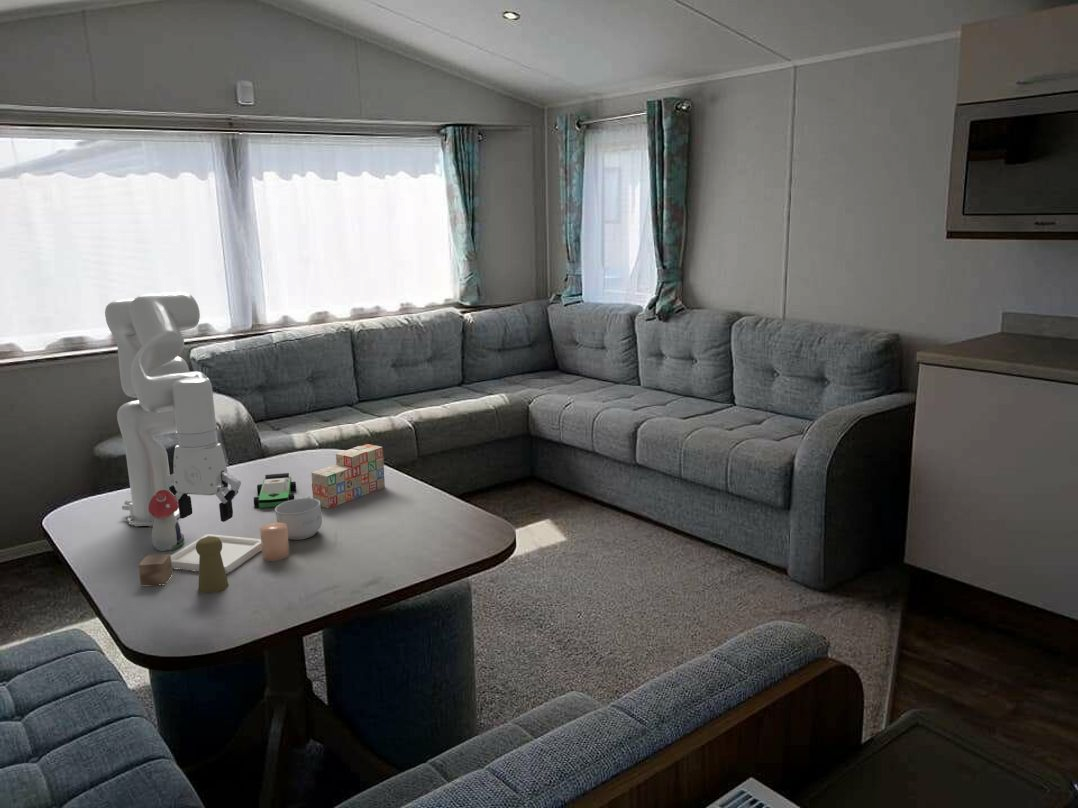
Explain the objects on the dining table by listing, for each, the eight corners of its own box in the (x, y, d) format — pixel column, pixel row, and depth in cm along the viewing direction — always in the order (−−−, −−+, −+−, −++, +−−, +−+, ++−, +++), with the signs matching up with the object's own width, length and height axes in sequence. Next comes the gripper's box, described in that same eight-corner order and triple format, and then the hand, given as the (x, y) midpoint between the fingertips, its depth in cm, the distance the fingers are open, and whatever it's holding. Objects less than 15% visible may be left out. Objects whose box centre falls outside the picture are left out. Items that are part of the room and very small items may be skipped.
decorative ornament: (173, 554, 196) (166, 493, 193) (145, 554, 196) (138, 493, 193) (190, 538, 205) (183, 480, 202) (163, 539, 205) (156, 480, 202)
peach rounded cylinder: (257, 559, 193) (254, 530, 191) (271, 549, 198) (269, 521, 197) (280, 561, 191) (278, 533, 190) (294, 551, 197) (292, 523, 195)
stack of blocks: (328, 509, 225) (325, 465, 222) (313, 504, 228) (309, 461, 225) (385, 487, 242) (383, 446, 239) (369, 483, 245) (367, 442, 243)
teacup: (310, 545, 201) (308, 513, 199) (269, 542, 203) (266, 510, 201) (335, 524, 214) (333, 494, 212) (296, 521, 216) (293, 491, 214)
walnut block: (141, 586, 180) (138, 565, 179) (149, 576, 185) (146, 555, 183) (165, 585, 180) (162, 563, 179) (172, 575, 185) (170, 554, 184)
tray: (163, 567, 189) (162, 560, 188) (207, 540, 204) (207, 533, 203) (226, 574, 185) (225, 567, 184) (266, 546, 200) (265, 539, 199)
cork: (203, 581, 182) (197, 533, 179) (231, 580, 182) (227, 532, 180) (194, 594, 176) (188, 545, 173) (224, 592, 176) (218, 543, 174)
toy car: (253, 511, 224) (252, 493, 223) (259, 488, 242) (258, 472, 241) (294, 508, 227) (292, 490, 225) (296, 485, 245) (295, 469, 244)
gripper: (148, 441, 170) (158, 521, 174) (223, 445, 166) (232, 527, 169) (173, 432, 177) (182, 509, 181) (245, 435, 173) (253, 514, 176)
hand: (206, 517), depth 175 cm, fingers open, 9 cm apart
